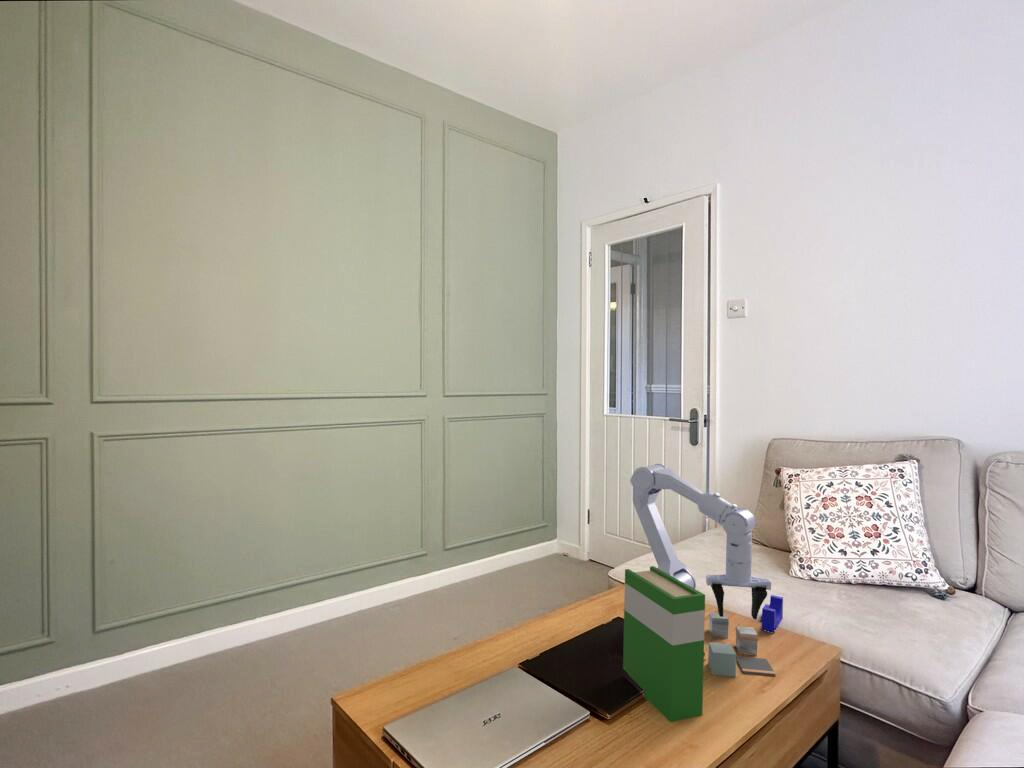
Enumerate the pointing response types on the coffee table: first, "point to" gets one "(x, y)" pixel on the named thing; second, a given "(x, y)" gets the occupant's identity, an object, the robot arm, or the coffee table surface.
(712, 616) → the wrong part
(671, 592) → the hardback book
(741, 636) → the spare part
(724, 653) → the block
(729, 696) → the coffee table surface
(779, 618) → the cable clip
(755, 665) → the pad
